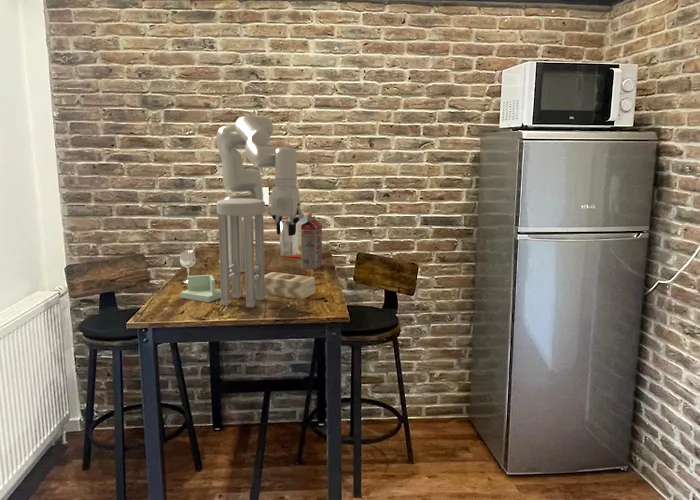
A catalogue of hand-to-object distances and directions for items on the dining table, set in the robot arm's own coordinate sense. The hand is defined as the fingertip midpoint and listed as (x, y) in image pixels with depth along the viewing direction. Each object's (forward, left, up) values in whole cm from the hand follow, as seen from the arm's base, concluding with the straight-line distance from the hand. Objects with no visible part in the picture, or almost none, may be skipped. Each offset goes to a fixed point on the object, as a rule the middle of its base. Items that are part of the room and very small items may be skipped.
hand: (286, 234), depth 209 cm
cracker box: (-30, +58, -22) cm, 69 cm away
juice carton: (-13, +42, -22) cm, 49 cm away
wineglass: (-43, -3, -22) cm, 48 cm away
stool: (-7, -17, -22) cm, 29 cm away
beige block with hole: (0, 0, -22) cm, 22 cm away
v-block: (-24, -18, -22) cm, 37 cm away
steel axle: (0, 0, -7) cm, 7 cm away
